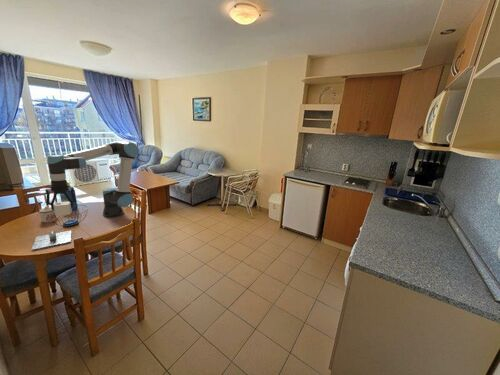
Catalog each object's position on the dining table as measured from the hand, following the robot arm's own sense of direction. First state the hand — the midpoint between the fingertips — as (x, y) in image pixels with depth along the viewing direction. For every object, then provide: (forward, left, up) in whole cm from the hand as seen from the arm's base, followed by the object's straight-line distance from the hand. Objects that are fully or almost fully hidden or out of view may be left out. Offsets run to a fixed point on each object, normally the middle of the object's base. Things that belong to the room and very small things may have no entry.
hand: (63, 212), depth 139 cm
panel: (+7, +1, -18) cm, 19 cm away
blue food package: (0, -60, -18) cm, 63 cm away
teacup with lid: (+11, -39, -18) cm, 45 cm away
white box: (0, 0, 0) cm, 0 cm away
